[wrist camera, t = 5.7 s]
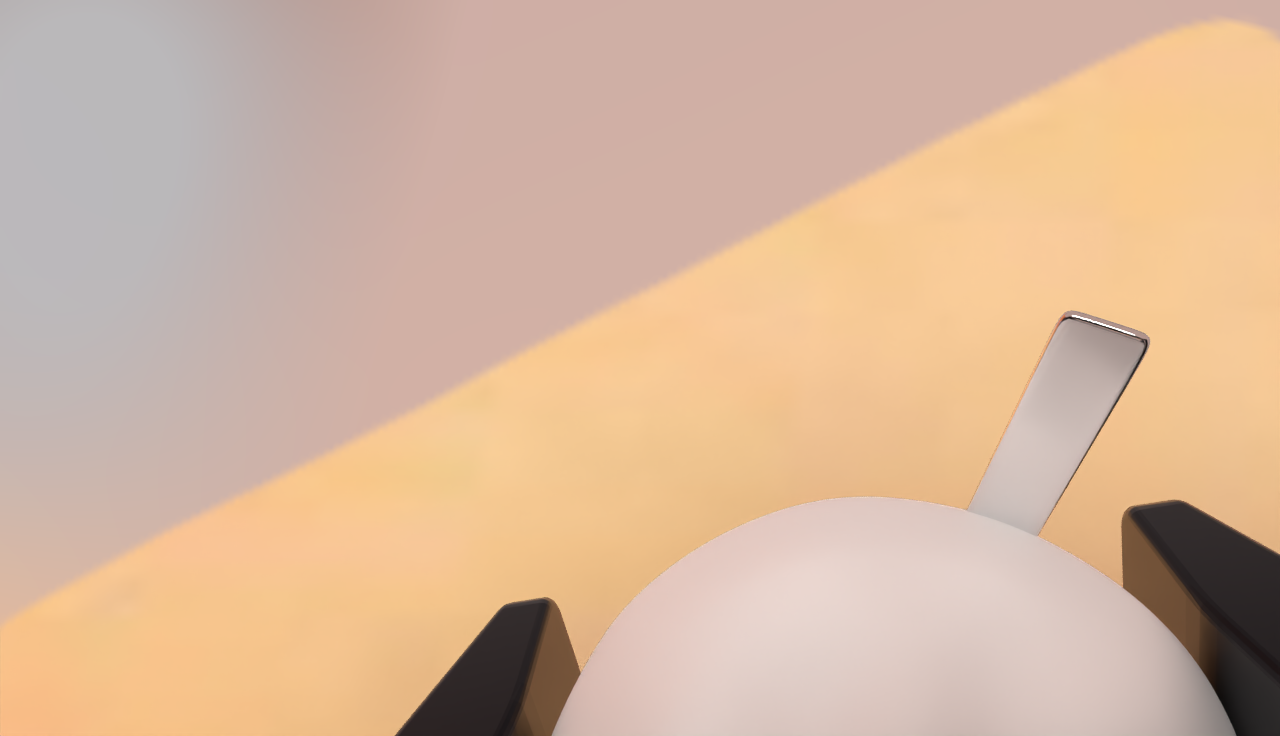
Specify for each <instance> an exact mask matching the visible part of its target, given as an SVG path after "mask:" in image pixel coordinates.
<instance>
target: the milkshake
mask: <svg viewBox="0 0 1280 736" xmlns="http://www.w3.org/2000/svg"><path fill="white" fill-rule="evenodd" d="M1149 345H1150V339H1149V337H1148V336H1147V335H1146V334H1145V333H1142V332H1140V331H1138V330H1135V329H1132V328H1129V327H1126V326H1123V325H1120V324H1116V323H1113V322H1110V321H1107V320H1104V319H1101V318H1098V317H1094V316H1091V315H1088V314H1085V313H1081V312H1077V311H1067V312H1065V313H1064V314H1063V315H1062V316H1061V317H1060V319H1059V320H1058V322H1057V323H1056V325H1055V327H1054V329H1053V331H1052V333H1051V335H1050V337H1049V339H1048V341H1047V343H1046V345H1045V347H1044V349H1043V351H1042V353H1041V355H1040V357H1039V359H1038V362H1037V364H1036V366H1035V368H1034V370H1033V372H1032V374H1031V376H1030V378H1029V380H1028V382H1027V385H1026V387H1025V389H1024V391H1023V393H1022V395H1021V397H1020V399H1019V401H1018V403H1017V405H1016V408H1015V410H1014V412H1013V414H1012V416H1011V418H1010V420H1009V422H1008V424H1007V426H1006V428H1005V431H1004V433H1003V435H1002V437H1001V439H1000V441H999V443H998V445H997V447H996V449H995V451H994V454H993V456H992V458H991V460H990V462H989V464H988V466H987V468H986V470H985V472H984V474H983V477H982V479H981V481H980V483H979V485H978V487H977V489H976V491H975V493H974V495H973V497H972V500H971V502H970V504H969V506H968V508H967V510H964V509H960V508H956V507H951V506H946V505H941V504H936V503H931V502H925V501H918V500H911V499H901V498H889V497H844V498H834V499H826V500H820V501H814V502H810V503H805V504H801V505H797V506H793V507H789V508H786V509H782V510H779V511H776V512H773V513H770V514H767V515H765V516H762V517H759V518H757V519H754V520H752V521H749V522H747V523H745V524H743V525H740V526H738V527H736V528H734V529H732V530H730V531H728V532H726V533H724V534H722V535H720V536H718V537H716V538H714V539H712V540H711V541H709V542H707V543H705V544H704V545H702V546H700V547H699V548H697V549H695V550H694V551H692V552H691V553H689V554H688V555H686V556H685V557H683V558H682V559H680V560H679V561H678V562H676V563H675V564H673V565H672V566H671V567H669V568H668V569H667V570H666V571H664V572H663V573H662V574H660V575H659V576H658V577H657V578H656V579H654V580H653V581H652V582H651V583H650V584H649V585H648V586H646V587H645V588H644V589H643V590H642V591H641V592H640V593H639V594H638V595H637V596H636V597H635V598H634V599H633V600H632V601H631V602H630V603H629V604H628V605H627V606H626V607H625V608H624V609H623V611H622V612H621V613H620V614H619V615H618V617H617V618H616V619H615V620H614V622H613V623H612V624H611V626H610V627H609V628H608V630H607V631H606V633H605V634H604V636H603V637H602V638H601V640H600V642H599V643H598V645H597V646H596V648H595V650H594V651H593V653H592V655H591V656H590V658H589V660H588V661H587V663H586V665H585V667H584V669H583V670H582V672H581V674H580V676H579V678H578V680H577V682H576V684H575V685H574V687H573V689H572V691H571V693H570V695H569V697H568V700H567V702H566V704H565V706H564V708H563V710H562V712H561V715H560V717H559V719H558V721H557V724H556V726H555V728H554V731H553V733H552V736H1237V735H1236V733H1235V731H1234V729H1233V726H1232V724H1231V722H1230V720H1229V718H1228V716H1227V714H1226V712H1225V710H1224V708H1223V705H1222V704H1221V702H1220V700H1219V698H1218V696H1217V694H1216V693H1215V691H1214V689H1213V687H1212V686H1211V684H1210V682H1209V681H1208V679H1207V677H1206V676H1205V674H1204V673H1203V671H1202V670H1201V668H1200V667H1199V665H1198V664H1197V663H1196V661H1195V660H1194V659H1193V657H1192V656H1191V655H1190V653H1189V652H1188V651H1187V649H1186V648H1185V647H1184V646H1183V645H1182V643H1181V642H1180V641H1179V640H1178V639H1177V638H1176V637H1175V635H1174V634H1173V633H1172V632H1171V631H1170V630H1169V629H1168V628H1167V627H1166V626H1165V625H1164V624H1163V623H1162V622H1161V621H1160V620H1159V619H1158V618H1157V617H1156V616H1155V615H1154V614H1153V613H1152V612H1151V611H1150V610H1149V609H1148V608H1146V607H1145V606H1144V605H1143V604H1142V603H1141V602H1140V601H1138V600H1137V599H1136V598H1135V597H1134V596H1132V595H1131V594H1130V593H1129V592H1127V591H1126V590H1125V589H1124V588H1122V587H1121V586H1120V585H1118V584H1117V583H1115V582H1114V581H1113V580H1111V579H1110V578H1109V577H1107V576H1106V575H1104V574H1103V573H1101V572H1100V571H1098V570H1097V569H1095V568H1094V567H1092V566H1090V565H1089V564H1087V563H1086V562H1084V561H1082V560H1081V559H1079V558H1077V557H1076V556H1074V555H1072V554H1070V553H1069V552H1067V551H1065V550H1063V549H1061V548H1060V547H1058V546H1056V545H1054V544H1052V543H1050V542H1048V541H1046V540H1044V539H1042V538H1040V537H1038V535H1039V533H1040V532H1041V530H1042V528H1043V526H1044V525H1045V523H1046V521H1047V520H1048V518H1049V516H1050V515H1051V513H1052V511H1053V510H1054V508H1055V506H1056V505H1057V503H1058V501H1059V500H1060V498H1061V496H1062V495H1063V493H1064V491H1065V490H1066V488H1067V486H1068V485H1069V483H1070V481H1071V479H1072V478H1073V476H1074V474H1075V473H1076V471H1077V469H1078V468H1079V466H1080V464H1081V463H1082V461H1083V459H1084V458H1085V456H1086V454H1087V453H1088V451H1089V449H1090V448H1091V446H1092V444H1093V443H1094V441H1095V439H1096V438H1097V436H1098V434H1099V432H1100V431H1101V429H1102V427H1103V426H1104V424H1105V422H1106V421H1107V419H1108V417H1109V416H1110V414H1111V412H1112V411H1113V409H1114V407H1115V406H1116V404H1117V402H1118V401H1119V399H1120V397H1121V396H1122V394H1123V392H1124V391H1125V389H1126V387H1127V385H1128V384H1129V382H1130V380H1131V379H1132V377H1133V375H1134V374H1135V372H1136V370H1137V368H1138V367H1139V365H1140V363H1141V361H1142V360H1143V358H1144V356H1145V354H1146V352H1147V350H1148V348H1149Z"/></svg>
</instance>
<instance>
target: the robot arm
mask: <svg viewBox="0 0 1280 736" xmlns="http://www.w3.org/2000/svg"><path fill="white" fill-rule="evenodd" d="M1121 528H1122V566H1123V588H1124V589H1125V590H1126V591H1127V592H1129V593H1130V594H1131V595H1132V596H1134V597H1135V598H1136V599H1137V600H1138V601H1140V602H1141V603H1142V604H1143V605H1144V606H1145V607H1146V608H1148V609H1149V610H1150V611H1151V612H1152V613H1153V614H1154V615H1155V616H1156V617H1157V618H1158V619H1159V620H1160V621H1161V622H1162V623H1163V624H1164V625H1165V626H1166V627H1167V628H1168V629H1169V630H1170V631H1171V632H1172V633H1173V634H1174V635H1175V637H1176V638H1177V639H1178V640H1179V641H1180V642H1181V643H1182V645H1183V646H1184V647H1185V648H1186V649H1187V651H1188V652H1189V653H1190V655H1191V656H1192V657H1193V659H1194V660H1195V661H1196V663H1197V664H1198V665H1199V667H1200V668H1201V670H1202V671H1203V673H1204V674H1205V676H1206V677H1207V679H1208V681H1209V682H1210V684H1211V686H1212V687H1213V689H1214V691H1215V693H1216V694H1217V696H1218V698H1219V700H1220V702H1221V704H1222V705H1223V708H1224V710H1225V712H1226V714H1227V716H1228V718H1229V720H1230V722H1231V724H1232V726H1233V729H1234V731H1235V733H1236V735H1237V736H1280V554H1278V553H1276V552H1274V551H1273V550H1271V549H1269V548H1267V547H1266V546H1264V545H1262V544H1260V543H1258V542H1257V541H1255V540H1253V539H1251V538H1249V537H1248V536H1246V535H1244V534H1242V533H1241V532H1239V531H1237V530H1235V529H1233V528H1232V527H1230V526H1228V525H1226V524H1224V523H1223V522H1221V521H1219V520H1217V519H1216V518H1214V517H1212V516H1210V515H1208V514H1207V513H1205V512H1203V511H1201V510H1199V509H1198V508H1196V507H1194V506H1192V505H1191V504H1189V503H1186V502H1184V501H1181V500H1168V501H1161V502H1155V503H1148V504H1142V505H1136V506H1131V507H1129V508H1128V509H1127V510H1126V511H1125V512H1124V514H1123V518H1122V526H1121ZM580 674H581V673H580V669H579V666H578V663H577V660H576V657H575V654H574V651H573V648H572V645H571V642H570V639H569V636H568V633H567V630H566V627H565V624H564V621H563V618H562V615H561V612H560V610H559V608H558V606H557V604H556V603H555V602H554V601H553V600H552V599H550V598H545V597H544V598H538V599H531V600H525V601H519V602H512V603H509V604H506V605H504V606H503V607H502V608H501V609H500V610H499V611H498V612H497V613H496V614H495V615H494V616H493V618H492V619H491V620H490V621H489V622H488V624H487V625H486V626H485V627H484V629H483V630H482V631H481V632H480V633H479V635H478V636H477V637H476V638H475V639H474V641H473V642H472V643H471V644H470V645H469V647H468V648H467V649H466V650H465V651H464V653H463V654H462V655H461V656H460V658H459V659H458V660H457V661H456V662H455V664H454V665H453V666H452V667H451V668H450V670H449V671H448V672H447V673H446V674H445V676H444V677H443V678H442V679H441V680H440V682H439V683H438V684H437V685H436V686H435V688H434V689H433V690H432V691H431V693H430V694H429V695H428V696H427V697H426V699H425V700H424V701H423V702H422V703H421V705H420V706H419V707H418V708H417V709H416V711H415V712H414V713H413V714H412V715H411V717H410V718H409V719H408V720H407V721H406V723H405V724H404V725H403V726H402V728H401V729H400V730H399V731H398V732H397V734H396V735H395V736H552V733H553V731H554V728H555V726H556V724H557V721H558V719H559V717H560V715H561V712H562V710H563V708H564V706H565V704H566V702H567V700H568V697H569V695H570V693H571V691H572V689H573V687H574V685H575V684H576V682H577V680H578V678H579V676H580Z"/></svg>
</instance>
